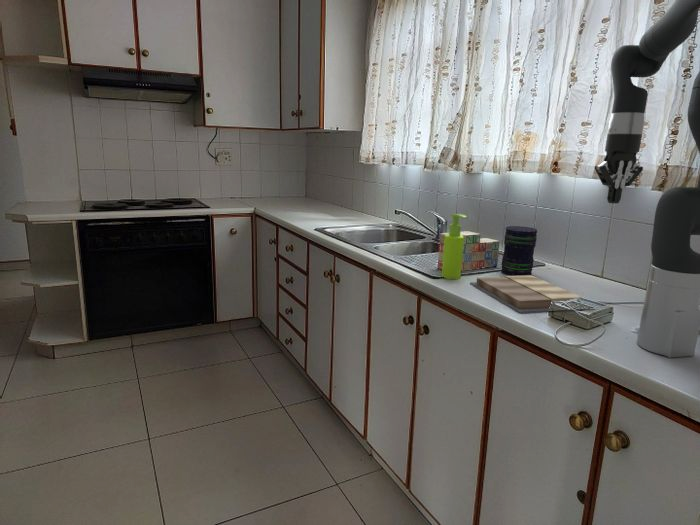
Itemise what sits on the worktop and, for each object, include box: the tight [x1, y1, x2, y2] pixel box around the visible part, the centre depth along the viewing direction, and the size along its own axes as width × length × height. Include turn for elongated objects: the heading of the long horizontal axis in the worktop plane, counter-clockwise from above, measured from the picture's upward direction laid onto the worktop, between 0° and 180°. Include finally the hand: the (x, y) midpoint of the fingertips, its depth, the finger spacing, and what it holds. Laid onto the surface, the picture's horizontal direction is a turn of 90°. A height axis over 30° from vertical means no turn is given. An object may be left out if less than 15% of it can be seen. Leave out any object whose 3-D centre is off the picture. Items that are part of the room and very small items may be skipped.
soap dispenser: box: [441, 213, 468, 280], centre depth 146 cm, size 6×7×20 cm
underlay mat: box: [469, 281, 549, 314], centre depth 131 cm, size 26×22×1 cm
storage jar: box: [500, 225, 538, 276], centre depth 154 cm, size 10×10×15 cm
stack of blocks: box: [437, 230, 500, 271], centre depth 160 cm, size 21×6×12 cm, turn 118°
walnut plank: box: [476, 276, 551, 309], centre depth 130 cm, size 22×9×2 cm, turn 14°
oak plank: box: [504, 275, 583, 305], centre depth 132 cm, size 22×9×2 cm, turn 14°
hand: (613, 203), depth 120 cm, fingers closed
